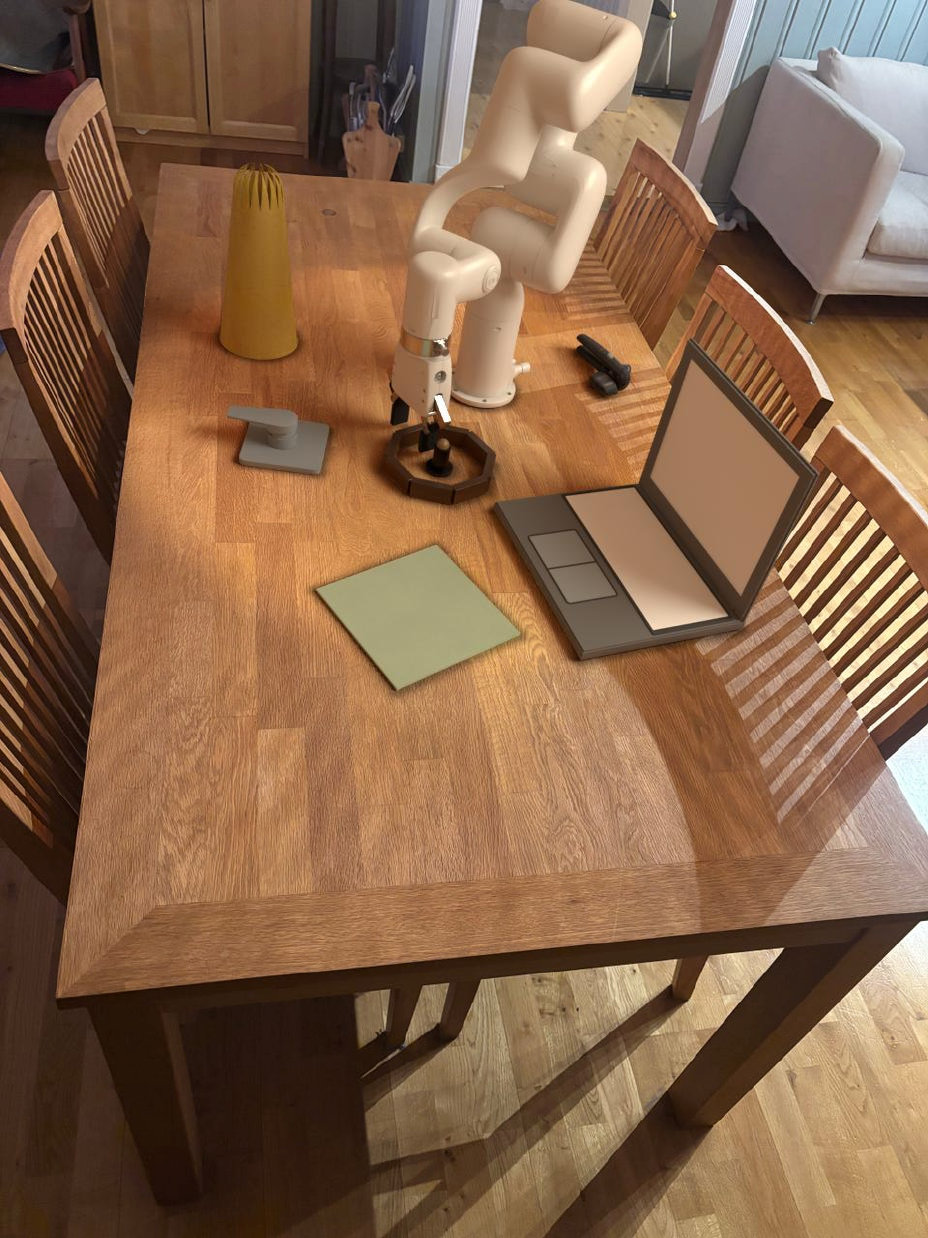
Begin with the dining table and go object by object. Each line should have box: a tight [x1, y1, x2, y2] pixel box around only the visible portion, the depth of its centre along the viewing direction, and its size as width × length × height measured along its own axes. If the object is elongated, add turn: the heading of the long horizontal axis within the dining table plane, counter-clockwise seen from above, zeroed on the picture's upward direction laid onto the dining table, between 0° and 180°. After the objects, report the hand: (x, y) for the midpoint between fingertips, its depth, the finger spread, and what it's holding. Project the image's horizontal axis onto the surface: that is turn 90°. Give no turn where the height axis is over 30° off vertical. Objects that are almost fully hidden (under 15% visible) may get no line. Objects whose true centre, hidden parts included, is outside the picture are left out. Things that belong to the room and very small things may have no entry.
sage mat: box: [315, 544, 521, 691], centre depth 131 cm, size 20×20×1 cm
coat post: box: [425, 439, 454, 478], centre depth 152 cm, size 4×4×6 cm
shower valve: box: [226, 405, 330, 476], centre depth 150 cm, size 12×6×15 cm
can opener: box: [575, 333, 632, 397], centre depth 179 cm, size 18×7×6 cm, turn 20°
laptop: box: [492, 337, 821, 661], centre depth 133 cm, size 32×26×28 cm
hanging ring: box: [383, 420, 497, 506], centre depth 153 cm, size 17×17×3 cm
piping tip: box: [219, 162, 299, 361], centre depth 162 cm, size 14×14×30 cm
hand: (412, 435), depth 157 cm, fingers open, 7 cm apart
